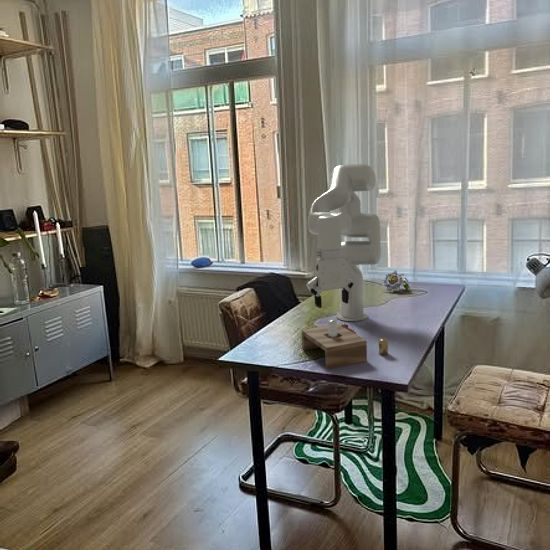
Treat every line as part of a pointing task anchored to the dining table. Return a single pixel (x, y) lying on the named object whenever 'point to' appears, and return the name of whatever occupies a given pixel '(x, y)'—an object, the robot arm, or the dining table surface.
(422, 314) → the dining table surface
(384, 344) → the short pin
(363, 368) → the dining table surface
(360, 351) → the hole stand
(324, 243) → the robot arm
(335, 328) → the long pin
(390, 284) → the passion flower
